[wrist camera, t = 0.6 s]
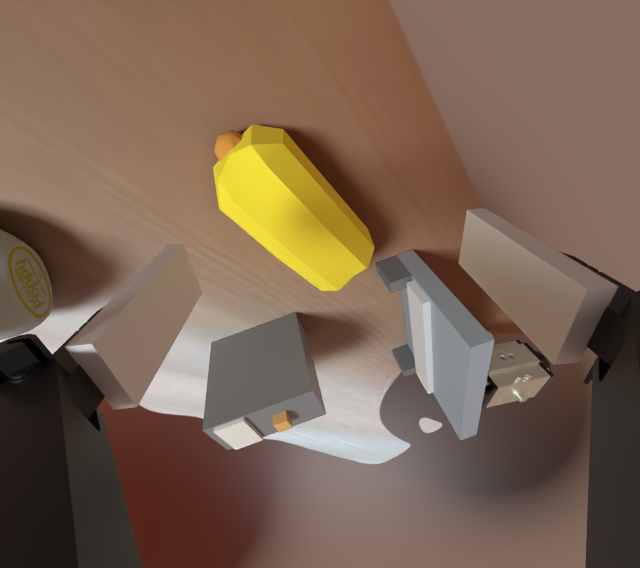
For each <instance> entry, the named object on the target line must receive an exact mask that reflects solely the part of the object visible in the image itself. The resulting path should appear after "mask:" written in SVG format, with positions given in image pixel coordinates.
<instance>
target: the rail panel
mask: <svg viewBox="0 0 640 568" xmlns="http://www.w3.org/2000/svg"><path fill="white" fill-rule="evenodd" d="M376 266H377V271H378V274H379V275H380V277H381V278H382V280H383V281H384V283H385V284H386V286H387V287H388V289H389V290H390V292H391V293H394V292H396V291H399V290H401V297H402V305H403V312H404V320H405V328H406V336H407V344H408V345H405V346H402V347H399V348H397V349H394V350H392V351H393V356H394V358H395V360H396V361H397V363H398V365H399V367H400V369H401V371H402V373H403V375H404V377H406V376H408V375H411V374H414V373H417V375H418V377H419V379H420V381H421V382H422V384H423V386H424V388H425V389H426V391H427V393H428V394H430V393H434V395H435V397H436V399H437V400H438V402H439V404H440V406H441V407H442V409H443V411H444V412H445V414H446V416H447V418H448V419H449V421H450V423H451V424H452V426H453V428H454V430H455V431H456V433H457V435H458V436H459V438H460V440H463V439H465V438H468V437H470V436H474V435H476V433H477V428H478V423H479V418H480V413H481V407H482V402H483V397H484V392H485V387H486V382H487V376H488V371H489V366H490V361H491V356H492V350H493V345H494V338H493V337H492V336H491V335H490V334H489V333H488V332H487V331H486V330H485V328H484V327H483V326H482V325H481V324H480V323H479V322H478V321H477V320H476V319H475V317H474V316H473V315H472V314H471V313H470V312H469V311H468V310H467V309H466V308H465V306H464V305H463V304H462V303H461V302H460V301H459V300H458V299H457V298H456V297H455V296H454V294H453V293H452V292H451V291H450V290H449V289H448V288H447V287H446V286H445V285H444V283H443V282H442V281H441V280H440V279H439V278H438V277H437V276H436V275H435V274H434V273H433V271H432V270H431V269H430V268H429V267H428V266H427V265H426V264H425V263H424V262H423V260H422V259H421V258H420V257H419V256H418V255H417V254H416V253H415V252H414V251H413V250H410V251H407V252H404V253H401V254H399V255H396V256H393V257H390V258H388V259H385V260H382V261H379V262H377V263H376Z"/></svg>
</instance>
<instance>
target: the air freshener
mask: <svg viewBox="0 0 640 568" xmlns="http://www.w3.org/2000/svg"><path fill="white" fill-rule="evenodd" d="M52 301H53V294H52V287H51V282H50V278H49V275H48V272H47V270H46V268H45V266H44V264H43V262H42V260H41V259H40V257H39V255H38V254H37V253H36V252H35V251H34V250H33V249H32V248H31V247H30V246H28V245H27V244H26V243H24V242H23V241H21V240H20V239H18V238H16V237H15V236H13V235H11V234H9V233H7V232H5V231H3V230H1V229H0V340H2V339H6V338H10V337H14V336H17V335H20V334H22V333H25V332H27V331H30V330H31V329H33V328H35V327H36V326H38V325H39V324H41V323H42V322H43V321H44V320H45V319H46V318H47V317H48V316H49V314H50V312H51V309H52Z"/></svg>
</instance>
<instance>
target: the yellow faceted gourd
mask: <svg viewBox="0 0 640 568" xmlns="http://www.w3.org/2000/svg"><path fill="white" fill-rule="evenodd" d="M214 152H215V154H216V156H217V158H218V159H219V161H218V162H217V163H216V165H215V166H214V167H213V171H214V178H215V185H216V192H217V199H218V203H219V208H220V210H221V211H223V212H224V213H225V214H226V215H227V216H229V217H230V218H231V219H232V220H233V221H234V222H236V223H237V224H238V225H239V226H240V227H242V228H243V229H244V230H245V231H246V232H247V233H249V234H250V235H251V236H252V237H253V238H255V239H256V240H257V241H258V242H259V243H260V244H262V245H263V246H264V247H265V248H266V249H268V250H269V251H270V252H271V253H272V254H273V255H275V256H276V257H277V258H278V259H279V260H281V261H282V262H284V263H285V264H286V265H288V266H289V267H290V268H292V269H293V270H294V271H296V272H297V273H298V274H300V275H301V276H302V277H304V278H305V279H306V280H308V281H309V282H310V283H312V284H313V285H314V286H316V287H317V288H318V289H320V290H321V291H338V290H340V289H341V288H343V287H344V286H345V285H346V284H347V283H348V282H349V281H350V280H351V279H352V278H353V277H354V276H355V275H356V274H358V273H359V272H361V271H363V270H365V269H366V268H368V267H369V265H370V261H371V258H372V255H373V252H374V248H375V247H374V244H373V242H372V239H371V236H370V233H369V231H368V228H367V227H366V226H365V225H364V224H363V222H362V221H361V220H360V219H359V218H358V217H357V215H356V214H355V213H354V212H353V211H352V210H351V208H350V207H349V206H348V205H347V204H346V203H345V201H344V200H343V199H342V198H341V197H340V196H339V194H338V193H337V192H336V191H335V190H334V189H333V187H332V186H331V185H330V184H329V183H328V181H327V180H326V179H325V178H324V177H323V176H322V174H321V173H320V172H319V171H318V170H317V168H316V167H315V166H314V165H313V164H312V163H311V161H310V160H309V159H308V158H307V157H306V155H305V154H304V153H303V152H302V151H301V150H300V148H299V147H298V146H297V145H296V144H295V142H294V141H293V140H292V139H291V138H290V137H289V135H288V134H287V133H286V132H285V131H284V129H279V128H272V127H265V126H259V125H251V126H250V127H249V128H248V129H247V130H246V131H245V132H244V133H243V134H242V135H241V134H239V133H237V132H236V131H234V130H231V131H229V132H226V133H223V134H221V135H218V137H217V141H216V145H215V149H214Z"/></svg>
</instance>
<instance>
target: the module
mask: <svg viewBox="0 0 640 568" xmlns="http://www.w3.org/2000/svg"><path fill="white" fill-rule="evenodd" d="M325 414H326V412H325V407H324V403H323V399H322V395H321V391H320V387H319V383H318V379H317V374H316V370H315V366H314V362H313V358H312V354H311V350H310V346H309V342H308V337H307V335H306V333H305V331H304V329H303V327H302V325H301V323H300V321H299V319H298V317H297V314H296V312H294V313H291V314H288V315H286V316H283V317H280V318H278V319H275V320H272V321H269V322H267V323H264V324H261V325H258V326H256V327H253V328H250V329H247V330H245V331H242V332H239V333H236V334H234V335H231V336H228V337H225V338H223V339H220V340H217V341H214V342H212V343H211V353H210V363H209V372H208V382H207V392H206V402H205V412H204V422H203V431H204V432H205V433H206V434H208V435H209V436H210V437H212V438H213V439H214V440H215V441H217V442H218V443H219V444H221V445H222V446H223V447H225V448H226V449H227V450H229V449H231V448H234V449H235V450H237V449H240V448H242V447H245V446H248V445H250V444H253V443H256V442H259V441H261V440H263V437H264V436H267V435H270V434H273V433H276V432H282V431H285V430H287V429H290V428H293V427H292V426H295V425H298V424H300V423H303V422H306V421H309V420H311V419H314V418H317V417H320V416H323V415H325Z"/></svg>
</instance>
